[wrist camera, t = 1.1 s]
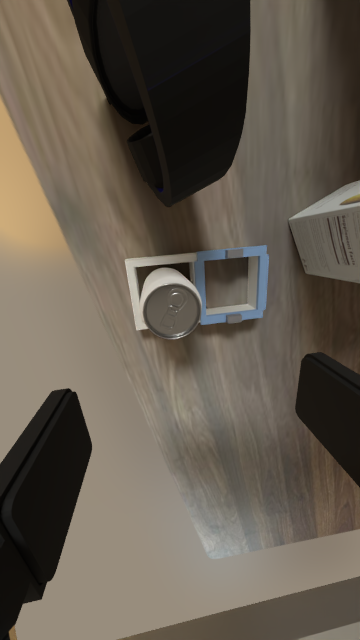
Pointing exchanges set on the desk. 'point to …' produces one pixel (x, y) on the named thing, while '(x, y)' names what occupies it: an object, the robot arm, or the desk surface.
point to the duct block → (197, 277)
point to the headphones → (173, 83)
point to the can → (170, 304)
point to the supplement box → (331, 235)
